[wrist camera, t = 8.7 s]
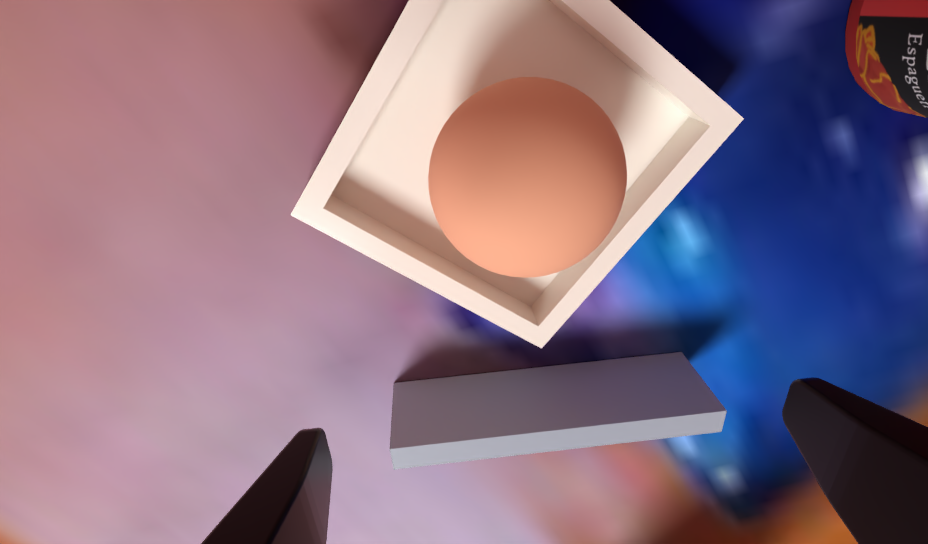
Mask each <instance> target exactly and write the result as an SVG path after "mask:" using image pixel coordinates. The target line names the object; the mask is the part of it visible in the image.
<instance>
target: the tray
mask: <svg viewBox="0 0 928 544" xmlns="http://www.w3.org/2000/svg"><path fill="white" fill-rule="evenodd" d="M519 77H540V78H547V79H552V80H556V81H559V82H563V83H566V84H568V85H570V86H572V87H574V88H576V89H578V90H579V91H581V92H582V93H584V94H585V95H587V96H588V97H590V98H591V99H592V100H593V101H594V102H595V103H597V104H598V105H599V106H600V107H601V108H602V109H603V111H604V112H605V113H606V114H607V116H608V117H609V119H610V120H611V122H612V124H613V125H614V127H615V129H616V130H617V132H618V134H619V137H620V139H621V142H622V145H623V149H624V153H625V158H626V166H627V186H626V192H625V197H624V201H623V204H622V208H621V211H620V213H619V216H618V218H617V220H616V222H615V224H614V226H613V227H612V229H611V231H610V232H609V234H608V235H607V236H606V238H605V239H604V240H603V242H602V243H601V244H600V245H599V246H598V247H597V248H596V249H595V250H594V251H593V252H591V253H590V254H589V255H588V256H587V257H585V258H584V259H582V260H581V261H579V262H578V263H576V264H574V265H573V266H571V267H569V268H567V269H564V270H562V271H559V272H557V273H553V274H550V275H546V276H540V277H528V278H522V277H511V276H506V275H501V274H497V273H494V272H491V271H489V270H486V269H484V268H482V267H480V266H478V265H477V264H475V263H474V262H472V261H471V260H469V259H468V258H466V257H465V256H464V255H463V254H461V253H460V252H459V251H458V250H457V249H456V248H455V247H454V246H453V244H452V243H451V242H450V241H449V240H448V238H447V237H446V236H445V234H444V232H443V231H442V229H441V228H440V226H439V224H438V221H437V219H436V217H435V214H434V211H433V208H432V205H431V201H430V195H429V187H428V174H429V165H430V158H431V154H432V150H433V147H434V144H435V142H436V139H437V137H438V135H439V133H440V131H441V129H442V127H443V126H444V124H445V123H446V121H447V120H448V119H449V117H450V116H451V114H452V113H453V112H454V111H455V110H456V109H457V108H458V107H459V106H460V105H461V104H462V103H463V102H464V101H466V100H467V99H468V98H469V97H471V96H472V95H473V94H475V93H477V92H478V91H480V90H482V89H483V88H485V87H488V86H490V85H492V84H494V83H497V82H500V81H504V80H507V79H512V78H519ZM743 119H744V118H743V117H741V116H740V115H739V114H738V113H737V112H736V111H735V110H733V109H732V108H731V107H730V106H729V105H728V104H727V103H726V102H724V101H723V100H722V99H721V98H720V97H719V96H718V95H716V94H715V93H714V92H713V91H712V90H711V89H710V88H708V87H707V86H706V85H705V84H704V83H703V82H702V81H701V80H699V79H698V78H697V77H696V76H695V75H694V74H693V73H691V72H690V71H689V70H688V69H687V68H686V67H685V66H683V65H682V64H681V63H680V62H679V61H678V60H677V59H676V58H674V57H673V56H672V55H671V54H670V53H669V52H668V51H666V50H665V49H664V48H663V47H662V46H661V45H660V44H658V43H657V42H656V41H655V40H654V39H653V38H652V37H651V36H649V35H648V34H647V33H646V32H645V31H644V30H643V29H641V28H640V27H639V26H638V25H637V24H636V23H635V22H633V21H632V20H631V19H630V18H629V17H628V16H627V15H626V14H624V13H623V12H622V11H621V10H620V9H619V8H618V7H616V6H615V5H614V4H613V3H612V2H611V1H610V0H409V1H408V3H407V5H406V7H405V8H404V10H403V12H402V14H401V16H400V18H399V19H398V21H397V23H396V25H395V27H394V28H393V30H392V32H391V34H390V36H389V37H388V39H387V41H386V43H385V45H384V47H383V48H382V50H381V52H380V54H379V56H378V57H377V59H376V61H375V63H374V65H373V66H372V68H371V70H370V72H369V74H368V76H367V77H366V79H365V81H364V83H363V85H362V86H361V88H360V90H359V92H358V94H357V96H356V97H355V99H354V101H353V103H352V105H351V106H350V108H349V110H348V112H347V114H346V115H345V117H344V119H343V121H342V123H341V125H340V126H339V128H338V130H337V132H336V134H335V135H334V137H333V139H332V141H331V143H330V145H329V146H328V148H327V150H326V152H325V154H324V155H323V157H322V159H321V161H320V163H319V164H318V166H317V168H316V170H315V172H314V174H313V175H312V177H311V179H310V181H309V183H308V184H307V186H306V188H305V190H304V192H303V194H302V195H301V197H300V199H299V201H298V203H297V204H296V206H295V208H294V210H293V212H292V213H291V216H293V217H295V218H297V219H299V220H301V221H303V222H304V223H306V224H308V225H310V226H312V227H314V228H316V229H318V230H320V231H321V232H323V233H325V234H327V235H329V236H331V237H333V238H335V239H336V240H338V241H340V242H342V243H344V244H346V245H348V246H350V247H351V248H353V249H355V250H357V251H359V252H361V253H363V254H365V255H367V256H368V257H370V258H372V259H374V260H376V261H378V262H380V263H382V264H383V265H385V266H387V267H389V268H391V269H393V270H395V271H397V272H398V273H400V274H402V275H404V276H406V277H408V278H410V279H412V280H414V281H415V282H417V283H419V284H421V285H423V286H425V287H427V288H429V289H430V290H432V291H434V292H436V293H438V294H440V295H442V296H444V297H445V298H447V299H449V300H451V301H453V302H455V303H457V304H459V305H461V306H462V307H464V308H466V309H468V310H470V311H472V312H474V313H476V314H477V315H479V316H481V317H483V318H485V319H487V320H489V321H491V322H493V323H494V324H496V325H498V326H500V327H502V328H504V329H506V330H508V331H509V332H511V333H513V334H515V335H517V336H519V337H521V338H523V339H524V340H526V341H528V342H530V343H532V344H534V345H536V346H538V347H540V348H541V349H542V348H543V346H544V345H545V344H546V343H547V342H548V341H549V340H550V339H551V337H552V336H553V335H554V334H555V333H556V332H557V331H558V329H559V328H560V327H561V326H562V325H563V324H564V323H565V321H566V320H567V319H568V318H569V317H570V316H571V315H572V314H573V312H574V311H575V310H576V309H577V308H578V307H579V306H580V304H581V303H582V302H583V301H584V300H585V299H586V298H587V296H588V295H589V294H590V293H591V292H592V291H593V290H594V289H595V287H596V286H597V285H598V284H599V283H600V282H601V281H602V279H603V278H604V277H605V276H606V275H607V274H608V273H609V271H610V270H611V269H612V268H613V267H614V266H615V265H616V264H617V262H618V261H619V260H620V259H621V258H622V257H623V256H624V254H625V253H626V252H627V251H628V250H629V249H630V248H631V246H632V245H633V244H634V243H635V242H636V241H637V240H638V239H639V237H640V236H641V235H642V234H643V233H644V232H645V231H646V229H647V228H648V227H649V226H650V225H651V224H652V223H653V221H654V220H655V219H656V218H657V217H658V216H659V215H660V214H661V212H662V211H663V210H664V209H665V208H666V207H667V206H668V204H669V203H670V202H671V201H672V200H673V199H674V198H675V196H676V195H677V194H678V193H679V192H680V191H681V190H682V189H683V187H684V186H685V185H686V184H687V183H688V182H689V181H690V179H691V178H692V177H693V176H694V175H695V174H696V173H697V171H698V170H699V169H700V168H701V167H702V166H703V165H704V164H705V162H706V161H707V160H708V159H709V158H710V157H711V156H712V154H713V153H714V152H715V151H716V150H717V149H718V148H719V146H720V145H721V144H722V143H723V142H724V141H725V140H726V139H727V137H728V136H729V135H730V134H731V133H732V132H733V131H734V129H735V128H736V127H737V126H738V125H739V124H740V123H741V122H742V120H743Z"/></svg>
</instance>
